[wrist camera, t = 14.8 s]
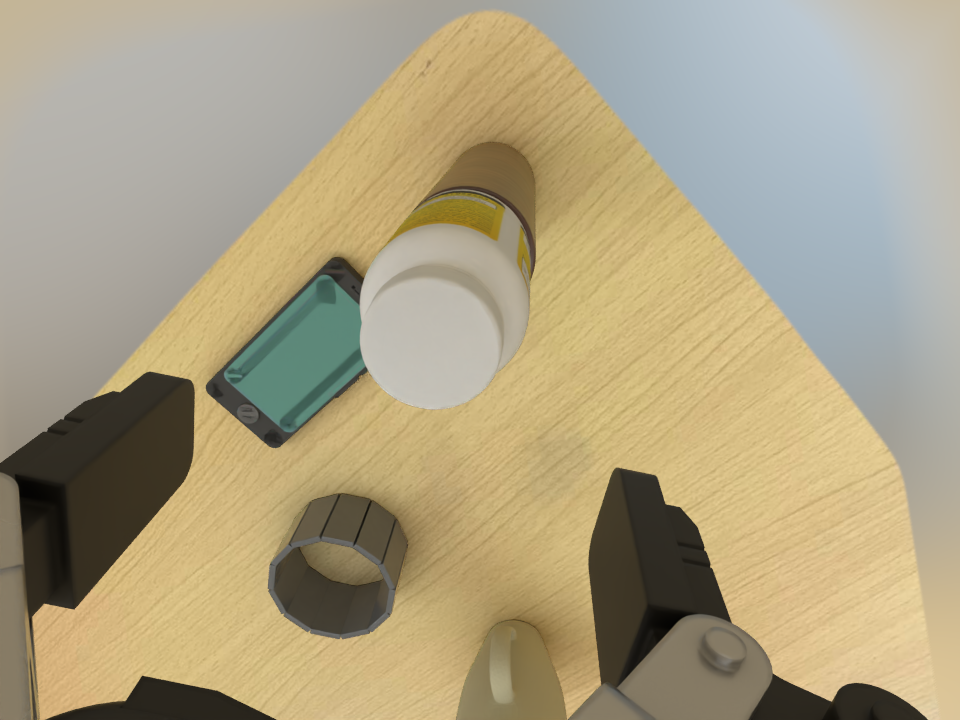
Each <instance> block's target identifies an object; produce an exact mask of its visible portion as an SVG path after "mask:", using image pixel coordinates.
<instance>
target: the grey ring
mask: <svg viewBox="0 0 960 720" xmlns="http://www.w3.org/2000/svg"><path fill="white" fill-rule="evenodd" d="M321 541H323V542H327V543H332V544H337V545H342V546H347V547H352V548H354V549H355V550H357V551H358V552H359V553H361V554H362V555H364V556H365V557H366V558H368V559H369V560H371V561H372V562H373V563H375V564H376V565H378V567H379V569H380V571H381V573H382V575H383V577H384V579H383V580H382V581H378V582H374V583H369V584H365V585H361V586H353V585H348V584H343V583H338V582H333V581H330V580H328V579H327V578H325V577H324V576H322V575H321V574H320V573H318V572H317V571H315V570H314V569H312V568H311V567H309V566H308V564H307V562H306V561H305V559H304V557H303V555H302V553H301V551H300V549H299V548H298V547H300V546H304V545H308V544H312V543H316V542H321ZM407 543H408V541H407V539H406V537H405V535H404V533H403V531H402V529H401V526H400V524H399V522H398V520H397V519H396V520H395V516H393V515H392V514H390V513H389V512H388V511H386V510H385V509H384V508H382V507H381V506H380V505H378V504H377V503H376V502H374V501H371V502H370V499H366V498H361V497H357V496H352V495H347V494H341V495H339V494H335V495H331V496H327V497H323V498H319V499H316V500H313V501H312V502H309V503H308V505H307V506H306V507H305V508H304V509H303V510H302V511H301V512H300V513H299V514H298V515H297V516H296V517H295V518H294V520H293V522H292V524H291V526H290V528H289V529H288V531H287V533H286V535H285V537H284V539H283V541H282V542H281V544H280V546H279V548H278V550H277V552H276V554H275V556H274V557H273V559H272V561H271V563H270V567H269V579H268V589H269V593H270V595H271V597H272V598H273V600H274V602H275V604H276V605H277V607H278V609H279V611H280V612H281V614H284V617H286V618H287V619H289V620H290V621H292V622H293V623H295V624H296V625H298V626H299V627H301V628H302V629H304V630H305V631H307V632H309V631H310V630H311V631H310V633H311V634H316V635H321V636H326V637H331V638H336V639H340V637H341V638H342V639H346V638H351V637H356V636H360V635H365V634H369V633H370V632H373V631H374V630H375V629H376V628H377V627H378V626H380V625H381V624H382V623H383V622H384V621H385V620H386V619H387V618H388V617H390V615H391V613H392V610H393V606H394V603H395V599H396V595H397V591H398V587H399V584H400V580H401V576H402V572H403V568H404V564H405V558H406V553H407V548H408V544H407Z"/></svg>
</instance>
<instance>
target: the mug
mask: <svg viewBox="0 0 960 720" xmlns="http://www.w3.org/2000/svg"><path fill="white" fill-rule="evenodd" d="M456 720H567V716H566V709H565V702H564V697H563V692H562V689H561V685H560V682H559V679H558V676H557V673H556V671H555V668H554V666H553V664H552V661H551V659H550V656H549V654H548V652H547V649H546V647H545V645H544V642H543V640H542V637H541V635H540V634H539V632H538V631H537V630H536V629H535V628H534V627H533V626H532V625H530V624H528V623H525V622H522V621H517V620H509V621H504V622H501V623H499V624H497V625H495V626H494V627H493V628H492V629H491V630H490V632H489V633H488V635H487V637H486V639H485V641H484V643H483V645H482V647H481V649H480V651H479V653H478V654H477V656H476V658H475V660H474V662H473V664H472V666H471V668H470V670H469V673H468V675H467V677H466V680H465V683H464V686H463V690H462V693H461V698H460V702H459V706H458V711H457V717H456Z"/></svg>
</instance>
